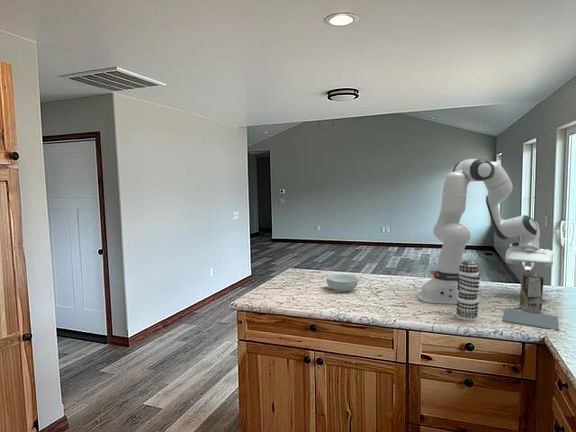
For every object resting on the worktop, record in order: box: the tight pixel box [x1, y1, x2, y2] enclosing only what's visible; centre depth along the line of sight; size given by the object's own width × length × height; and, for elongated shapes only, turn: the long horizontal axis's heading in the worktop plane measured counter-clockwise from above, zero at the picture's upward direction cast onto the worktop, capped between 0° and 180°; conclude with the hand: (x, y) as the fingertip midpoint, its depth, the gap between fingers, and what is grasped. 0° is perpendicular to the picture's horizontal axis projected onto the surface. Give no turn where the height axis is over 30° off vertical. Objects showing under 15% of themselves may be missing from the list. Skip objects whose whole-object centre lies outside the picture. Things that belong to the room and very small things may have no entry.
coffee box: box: [519, 273, 544, 314], centre depth 183 cm, size 9×6×16 cm
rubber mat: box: [501, 308, 560, 331], centre depth 170 cm, size 18×20×1 cm
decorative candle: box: [455, 259, 481, 321], centre depth 172 cm, size 9×9×25 cm
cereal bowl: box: [326, 273, 359, 293], centre depth 216 cm, size 17×17×7 cm
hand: (527, 271), depth 193 cm, fingers closed
